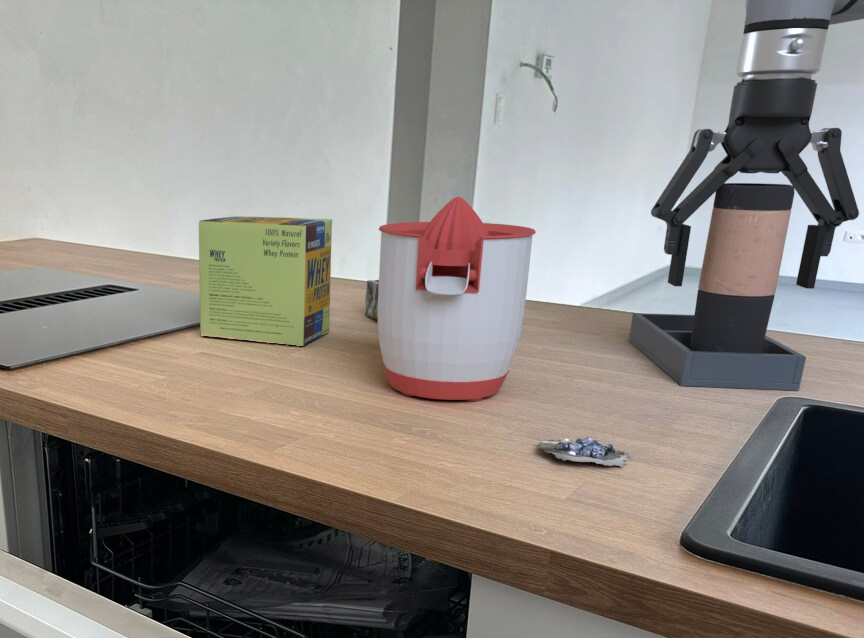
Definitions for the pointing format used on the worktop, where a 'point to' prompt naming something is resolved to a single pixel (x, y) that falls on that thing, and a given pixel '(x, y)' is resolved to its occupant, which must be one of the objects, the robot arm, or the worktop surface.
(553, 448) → the blueberries
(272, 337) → the protein box
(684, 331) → the grey divided tray
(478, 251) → the citrus juicer
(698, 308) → the travel mug
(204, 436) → the worktop surface
